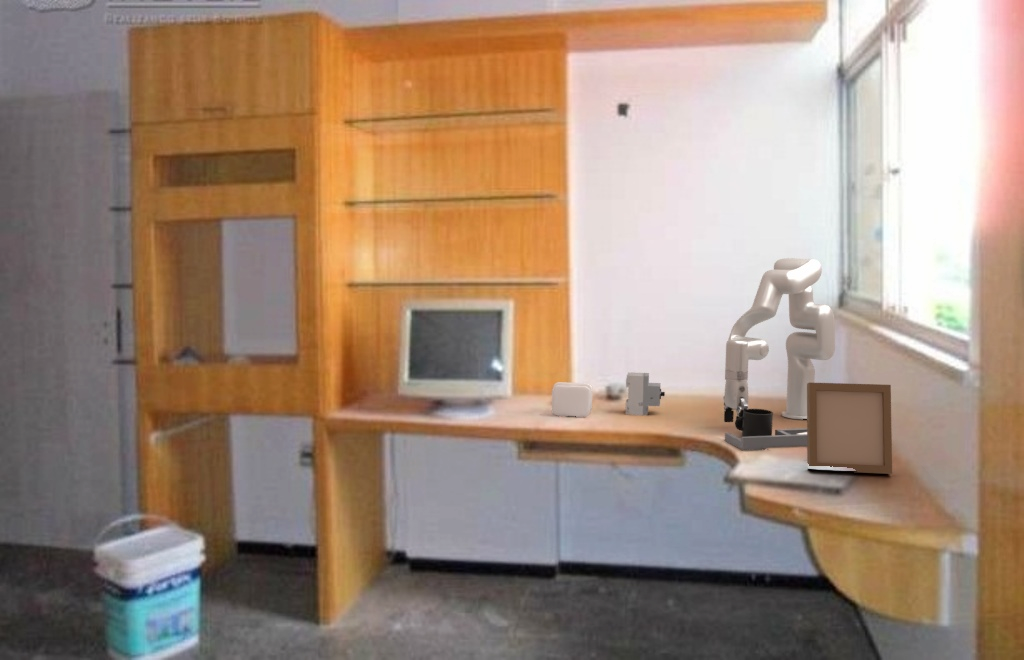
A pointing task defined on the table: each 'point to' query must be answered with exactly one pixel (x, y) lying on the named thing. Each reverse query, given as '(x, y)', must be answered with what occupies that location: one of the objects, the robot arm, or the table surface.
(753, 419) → the mug
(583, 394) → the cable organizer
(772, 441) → the organizer
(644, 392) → the circuit breaker
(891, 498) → the table surface
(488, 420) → the table surface
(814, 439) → the photo frame
